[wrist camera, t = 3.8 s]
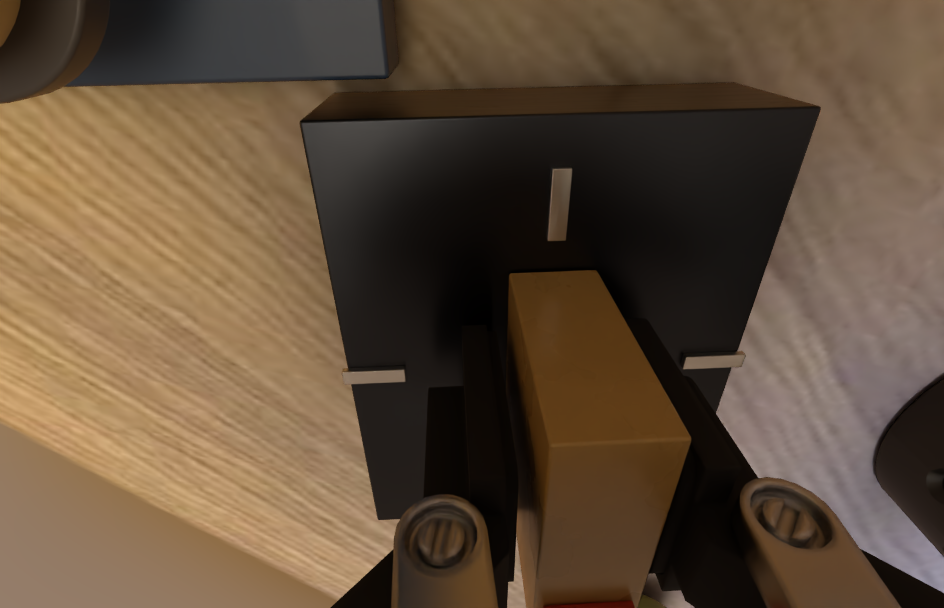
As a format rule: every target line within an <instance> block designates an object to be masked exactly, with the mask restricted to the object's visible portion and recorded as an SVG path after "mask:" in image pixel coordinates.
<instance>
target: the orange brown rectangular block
mask: <svg viewBox="0 0 944 608" xmlns="http://www.w3.org/2000/svg"><path fill="white" fill-rule="evenodd" d="M506 395H507V402H508V408H509V414H510V421H511V427H512V433H513V440H514V446H515V453H516V459H517V467H518V482H519V491H518V509H517V528H516V534H517V541H518V549H519V556H520V564H521V571H522V578H523V586H524V593H525V601H526V608H638V605H639V602H640V599H641V596H642V592H643V589H644V586H645V583H646V580H647V577H648V574H649V571H650V568H651V565H652V561H653V558H654V555H655V552H656V549H657V546H658V543H659V540H660V537H661V533H662V530H663V527H664V524H665V521H666V518H667V515H668V512H669V509H670V505H671V502H672V499H673V496H674V493H675V490H676V487H677V484H678V481H679V478H680V474H681V471H682V468H683V465H684V462H685V459H686V456H687V453H688V450H689V446H690V443H691V436H690V435H689V433H688V431H687V429H686V427H685V426H684V424H683V422H682V420H681V419H680V417H679V415H678V413H677V412H676V410H675V408H674V406H673V404H672V403H671V401H670V399H669V397H668V396H667V394H666V392H665V390H664V389H663V387H662V385H661V383H660V381H659V380H658V378H657V376H656V374H655V373H654V371H653V369H652V367H651V366H650V364H649V362H648V360H647V359H646V357H645V355H644V353H643V351H642V350H641V348H640V346H639V344H638V343H637V341H636V339H635V337H634V336H633V334H632V332H631V330H630V328H629V327H628V325H627V323H626V321H625V320H624V318H623V316H622V314H621V313H620V311H619V309H618V307H617V305H616V304H615V302H614V300H613V298H612V297H611V295H610V293H609V291H608V290H607V288H606V286H605V284H604V282H603V281H602V279H601V277H600V275H599V274H598V272H597V271H596V270H584V271H557V272H531V273H511V274H510V275H509V293H508V331H507V368H506Z"/></svg>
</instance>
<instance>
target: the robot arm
mask: <svg viewBox="0 0 944 608" xmlns="http://www.w3.org/2000/svg"><path fill="white" fill-rule="evenodd" d="M624 320H625V321H626V323H627V325H628V327H629V328H630V330H631V332H632V334H633V336H634V337H635V339H636V341H637V343H638V344H639V346H640V348H641V350H642V351H643V353H644V355H645V357H646V359H647V360H648V362H649V364H650V366H651V367H652V369H653V371H654V373H655V374H656V376H657V378H658V380H659V381H660V383H661V385H662V387H663V389H664V390H665V392H666V394H667V396H668V397H669V399H670V401H671V403H672V404H673V406H674V408H675V410H676V412H677V413H678V415H679V417H680V419H681V420H682V422H683V424H684V426H685V427H686V429H687V431H688V433H689V435H690V436H691V443H690V446H689V450H688V453H687V456H686V459H685V462H684V465H683V468H682V471H681V474H680V478H679V481H678V484H677V487H676V490H675V493H674V496H673V499H672V502H671V505H670V509H669V512H668V515H667V518H666V521H665V524H664V527H663V530H662V533H661V537H660V540H659V543H658V546H657V549H656V552H655V555H654V558H653V561H652V565H651V568H650V571H649V574H651V573H655V574H656V576H657V579H658V582H659V585H660V587H661V590H662V591H676V590H681V591H682V593H683V596H684V598H685V601H687V602H688V603H690V604H691V605H692V606H694V608H944V593H942V592H941V591H939V590H937V589H935V588H933V587H931V586H929V585H927V584H925V583H924V582H922V581H920V580H918V579H916V578H914V577H912V576H910V575H908V574H907V573H905V572H903V571H901V570H899V569H897V568H895V567H893V566H892V565H890V564H888V563H886V562H884V561H882V560H880V559H878V558H876V557H875V556H873V555H871V554H869V553H867V552H865V551H863V550H861V549H860V548H859V547H858V545H857V544H856V543H855V541H854V540H853V538H852V537H851V535H850V534H849V533H848V531H847V530H846V528H845V527H844V525H843V524H842V523H841V521H840V520H839V518H838V517H837V515H836V514H835V513H834V512H833V511H832V510H831V509H830V507H829V506H828V505H827V504H826V503H825V502H824V501H823V500H821V499H820V498H819V497H817V496H816V495H815V494H814V493H812V492H811V491H809V490H807V489H805V488H803V487H801V486H799V485H798V484H795V483H792V482H789V481H786V480H783V479H778V478H770V477H764V478H758V477H757V476H756V474H755V473H754V471H753V469H752V468H751V466H750V465H749V463H748V462H747V460H746V459H745V457H744V456H743V454H742V453H741V451H740V450H739V448H738V447H737V445H736V444H735V442H734V441H733V439H732V438H731V436H730V435H729V433H728V431H727V430H726V428H725V427H724V425H723V424H722V422H721V421H720V419H719V418H718V416H717V415H716V413H715V412H714V410H713V409H712V407H711V406H710V404H709V403H708V401H707V400H706V398H705V397H704V395H703V394H702V392H701V390H700V389H699V387H698V386H697V384H696V383H695V382H694V381H693V379H692V378H690V377H688V376H683V374H682V373H681V371H680V369H679V368H678V366H677V365H676V363H675V362H674V360H673V358H672V357H671V355H670V354H669V352H668V351H667V349H666V348H665V346H664V344H663V343H662V341H661V340H660V338H659V337H658V335H657V333H656V332H655V330H654V329H653V327H652V326H651V324H650V322H649V321H648V320H647V319H645V318H639V319H624ZM462 353H463V382H464V386H449V387H429V389H428V404H427V427H426V450H425V473H424V496H423V499H422V500H420V501H418V502H416V503H414V504H413V505H412V506H411V507H410V508H409V509H408V510H407V511H406V512H405V513H404V514H403V515H402V517H401V519H400V521H399V522H398V524H397V527H396V531H395V536H394V549H393V550H392V551H391V552H390V553H389V554H388V555H387V556H386V557H385V558H384V559H383V560H381V561H380V562H379V563H378V564H377V565H376V566H375V567H374V568H373V569H372V570H371V571H370V572H368V573H367V574H366V575H365V576H364V577H363V578H362V579H361V580H360V581H359V582H358V583H357V584H356V585H354V586H353V587H352V588H351V589H350V590H349V591H348V592H347V593H346V594H345V595H344V596H343V597H342V598H340V599H339V600H338V601H337V602H336V603H335V604H334V605H333V606H332V607H331V608H507V595H508V582H512V581H514V566H515V547H516V528H517V509H518V491H519V482H518V467H517V459H516V453H515V446H514V440H513V433H512V427H511V421H510V414H509V408H508V402H507V395H506V389H505V382H504V376H503V370H502V363H501V357H500V350H499V344H498V338H497V332H496V331H487V326H486V325H468V326H462Z"/></svg>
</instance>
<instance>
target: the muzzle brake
mask: <svg viewBox="0 0 944 608" xmlns="http://www.w3.org/2000/svg"><path fill="white" fill-rule="evenodd" d="M876 477H877V479H878V481H879V483H880V485H881V487H882V488H883V490H884V491H885V492H886V493H887V494H888V495H889V496H890V497H891V498H892V500H893V501H894V502H895V503H896V504H897V505H898V506H899V507H900V509H901V510H902V511H903V512H904V513H905V514H906V515H907V516H908V517H909V519H910V520H911V521H912V522H913V523H914V524H915V525H916V526H917V527H918V529H919V530H920V531H921V532H922V533H923V534H924V535H925V536H926V537H927V539H928V540H929V541H930V542H931V543H932V544H933V545H934V546H935V548H936V549H937V550H938V551H939V552H940V553H941V554H942V555H943V556H944V379H943V380H941V381H940V382H939V383H937V384H936V385H934V386H933V387H932V388H930V389H929V390H927V391H926V392H925V393H923V394H922V395H921V396H920V397H919V398H918V399H917V400H916V401H914V402H913V403H912V404H911V405H910V406H909V407H908V408H907V409H906V410H904V412H903V413H902V414H901V415H900V416H899V418H898V419H897V420H896V421H895V422H894V424H893V425H892V426H891V427H890V429H889V431H888V432H887V434H886V436H885V438H884V440H883V441H882V443H881V446H880V449H879V453H878V456H877V460H876Z"/></svg>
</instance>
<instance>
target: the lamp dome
mask: <svg viewBox="0 0 944 608" xmlns="http://www.w3.org/2000/svg"><path fill="white" fill-rule="evenodd" d="M109 8H110V0H0V104H1V103H10V102H14V101H19V100H23V99H27V98H32V97H36V96H40V95H43V94H47V93H51V92H53V91H55V90H57V89H60V88H62V87H64V86H66V85H67V84H69V83H70V82H71V81H73V80H74V79H76V78H77V77H78V76H79V75H80V74H81V73H82V72H83V71H84V70H85V69H86V68H87V67H88V66H89V64H90V63H91V61H92V60H93V58H94V56H95V55H96V53H97V52H98V50H99V47H100V45H101V42H102V40H103V37H104V35H105V31H106V27H107V22H108V18H109Z"/></svg>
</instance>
